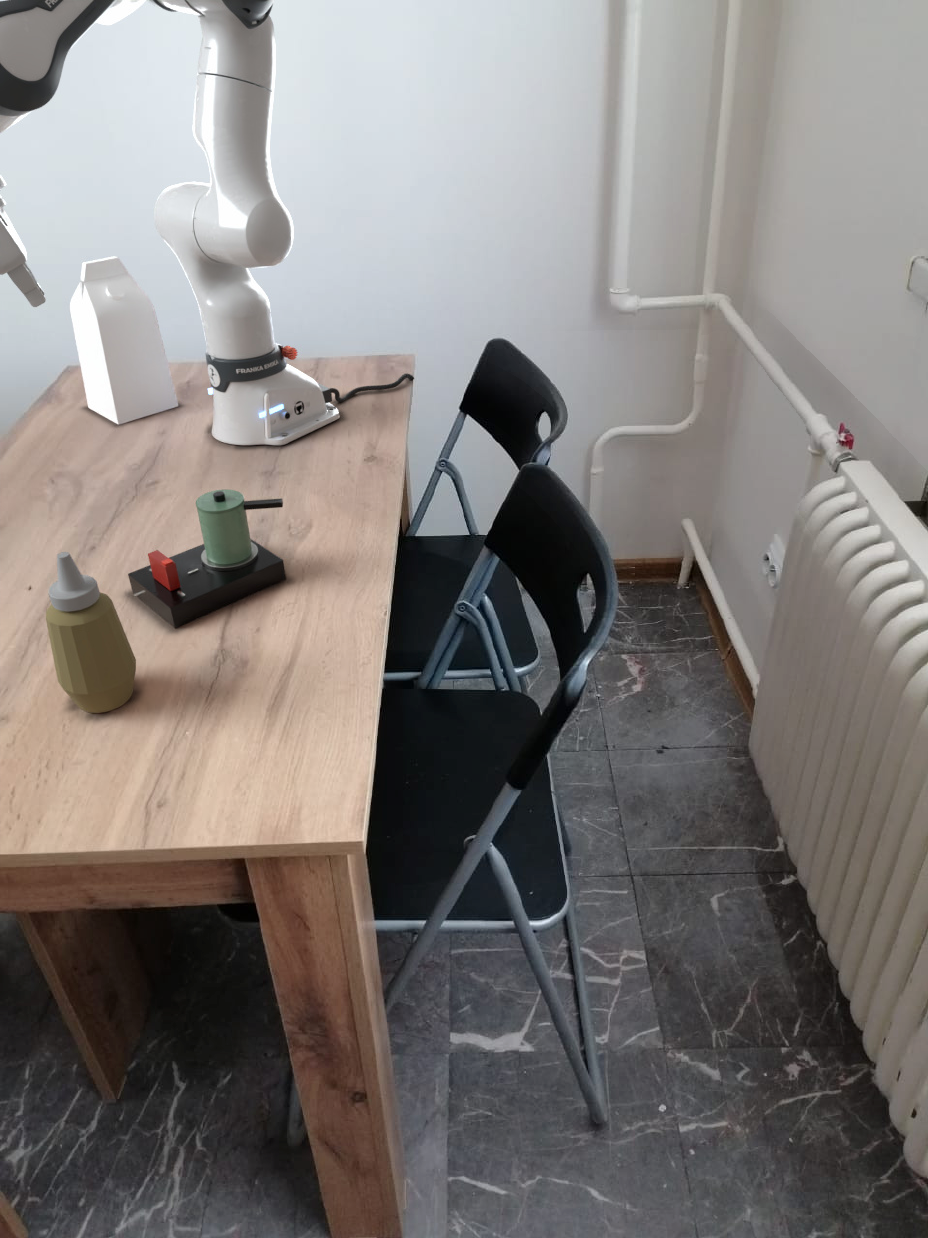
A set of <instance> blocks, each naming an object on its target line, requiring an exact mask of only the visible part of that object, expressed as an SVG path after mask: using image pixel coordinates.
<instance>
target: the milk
mask: <svg viewBox="0 0 928 1238" xmlns="http://www.w3.org/2000/svg"><path fill="white" fill-rule="evenodd" d="M79 279H80V281H79V282H78V285H77V287H76V288H75V290H74V292H73V295H72V296H71V299H70V303H69V313H70V317H71V323H72V329H73V334H74V339H75V345H76V349H77V355H78V360H79V366H80V371H81V376H82V381H83V388H84V393H85V397H86V402H87V407H88V409H90V410H91V411H94V412H95V413H97V414H98V415H100V416H102V417H103V418H106V419H107V420H109V421H110V422H113V423H115V424H117V426H119V425H123V424H126V423H128V422H132V421H135V420H139V419H142V418H145V417H148V416H151V415H154V414H159V413H161V412H164V411H167V410H168V411H169V410H170V409H174V408H177V407H179V401H178V398H177V393H176V390H175V385H174V382H173V377H172V373H171V370H170V366H169V361H168V357H167V354H166V350H165V346H164V342H163V336H162V333H161V330H160V326H159V321H158V317H157V314H156V310H155V306H154V305H153V302H152V300H151V299H150V298H149V296H148V294H146V292H145V290H143V289H142V287H141V286H140V285H139V283H138V282H137V281H136V280H135V278H134V277H133V276H132V274H130V272H129V270H128V269H127V268H126V266H125V264H124V263H123V262H122V260H121V259H120V258H119V257H118V256H113V255H112V256H109V257H104V258H98V259H94V260H93V259H92V260H88V261H84V262H82V264H81V272H80V278H79Z"/></svg>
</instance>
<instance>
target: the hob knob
mask: <svg viewBox="0 0 928 1238" xmlns="http://www.w3.org/2000/svg"><path fill="white" fill-rule="evenodd" d="M147 557H148V561H149V565H150V566H151V570H152V574H153V578H154V579H156V580H157V581H158V582H160V583H161V584H162V585H163V586H165V587H166V588H167V589H168V590H170V591H173V590H175V589H177V588H180V587H181V586H180V582H179V577H178V573H177V568H176V564H175V562H173V561H172V560H171V559H170V558H169V557H168V556H167V555H166V554H164V553H162V552H161V551H160V550H159V549H156V550H154V551H151V552H148V553H147Z"/></svg>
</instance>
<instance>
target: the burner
mask: <svg viewBox="0 0 928 1238" xmlns="http://www.w3.org/2000/svg"><path fill="white" fill-rule="evenodd" d="M251 545H252V553H251V555H250V556H249V557H248V558H246V559H244V560H242V561H240V562H237V563H233V564H216V563H213V562H211V561H209V560H208V559H207V556H206V551H205V550H204V551H203V552H202V554H201V560H202V563H203V565H204V566H205V567H207V568H209V569H211V570H215V571H232V570H237V569H241V568H244V567H246V566H248V565H250V564H252V563H253V562H254V561H255V560H256V559H257V557H258V548H257V546H256V545H255V544H254V543H252V542H251Z"/></svg>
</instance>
